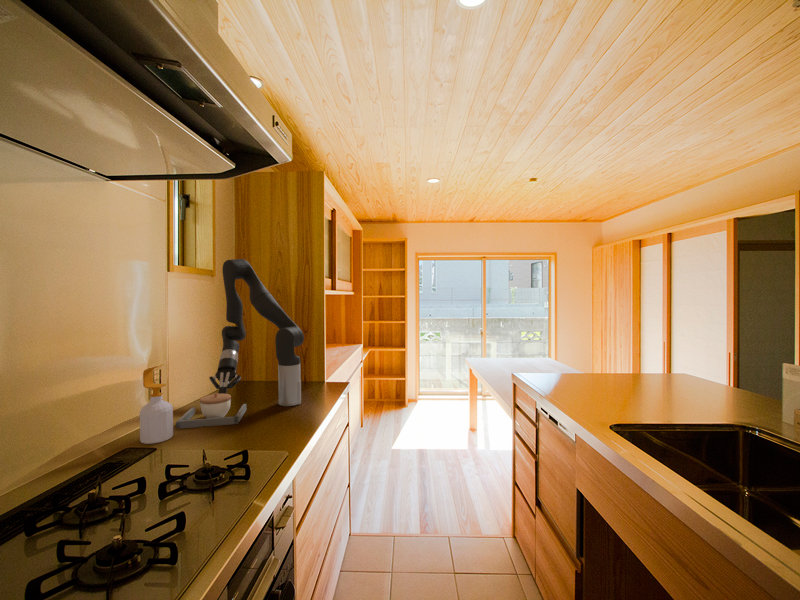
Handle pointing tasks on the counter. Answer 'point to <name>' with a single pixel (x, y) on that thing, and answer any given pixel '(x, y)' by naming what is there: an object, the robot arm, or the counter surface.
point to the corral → (208, 419)
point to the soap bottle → (155, 413)
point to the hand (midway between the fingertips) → (222, 396)
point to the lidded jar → (215, 405)
